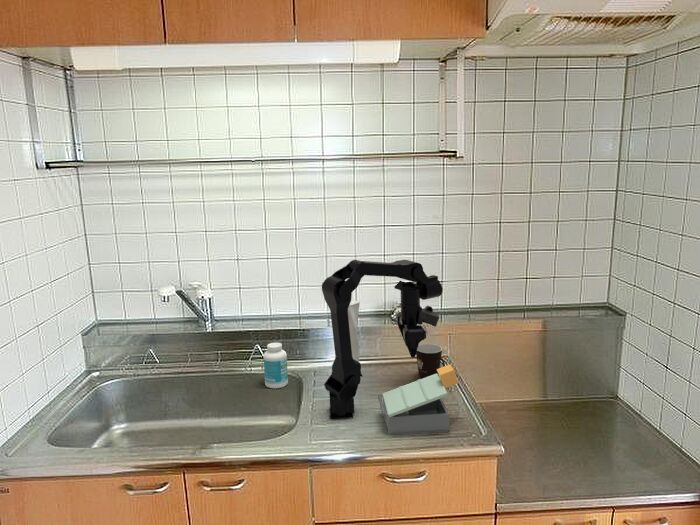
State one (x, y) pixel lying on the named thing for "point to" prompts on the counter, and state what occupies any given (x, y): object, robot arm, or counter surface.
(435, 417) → the parts tub
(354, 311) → the skyscraper
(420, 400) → the lid
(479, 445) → the counter surface
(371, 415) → the counter surface
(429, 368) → the coffee mug
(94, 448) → the counter surface
